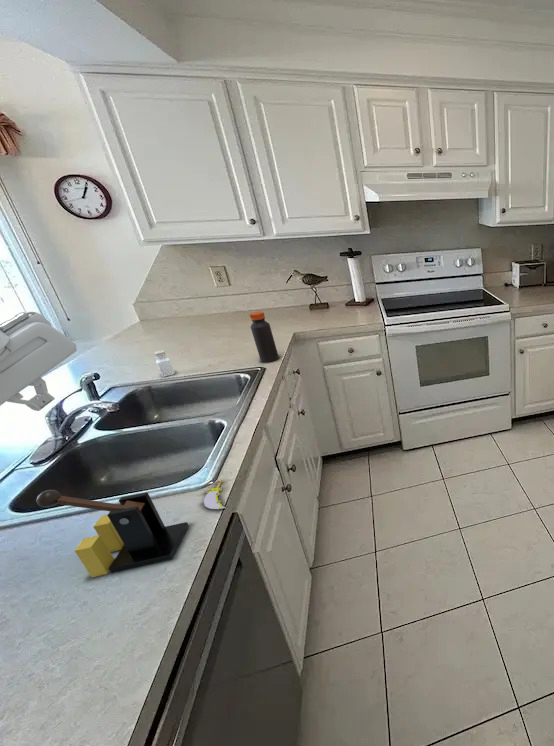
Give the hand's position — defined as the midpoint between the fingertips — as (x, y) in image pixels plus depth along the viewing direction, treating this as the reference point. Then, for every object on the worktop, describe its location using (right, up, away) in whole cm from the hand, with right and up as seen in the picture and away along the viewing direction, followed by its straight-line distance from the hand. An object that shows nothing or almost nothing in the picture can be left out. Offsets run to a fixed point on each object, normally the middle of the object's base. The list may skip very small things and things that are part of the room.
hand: (45, 404), depth 73 cm
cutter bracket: (+11, -30, +10) cm, 33 cm away
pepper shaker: (-49, +5, +87) cm, 100 cm away
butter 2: (+5, -32, +5) cm, 33 cm away
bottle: (-15, +12, +98) cm, 100 cm away
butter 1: (+3, -29, +11) cm, 31 cm away
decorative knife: (+15, -23, +23) cm, 36 cm away
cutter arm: (+5, -20, +3) cm, 21 cm away
